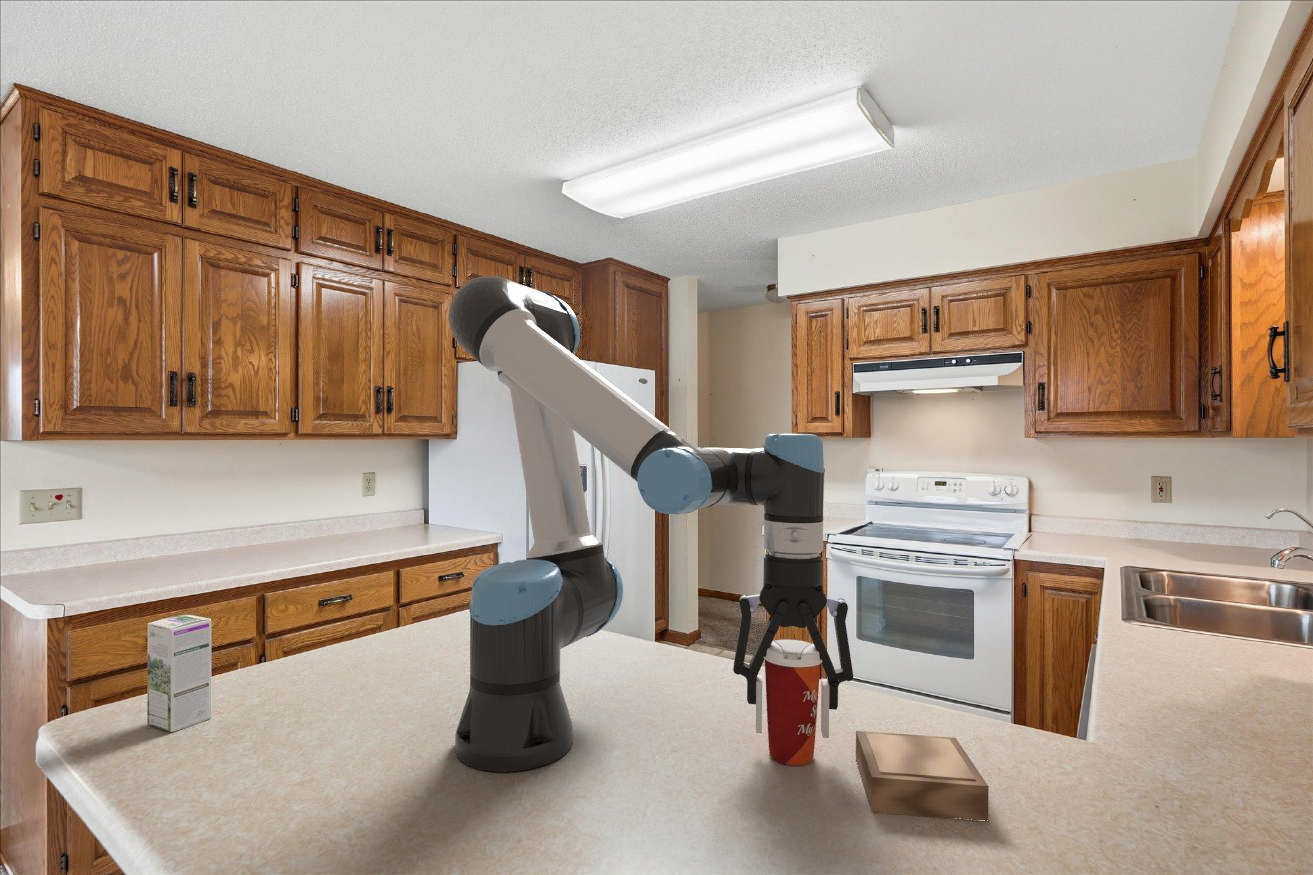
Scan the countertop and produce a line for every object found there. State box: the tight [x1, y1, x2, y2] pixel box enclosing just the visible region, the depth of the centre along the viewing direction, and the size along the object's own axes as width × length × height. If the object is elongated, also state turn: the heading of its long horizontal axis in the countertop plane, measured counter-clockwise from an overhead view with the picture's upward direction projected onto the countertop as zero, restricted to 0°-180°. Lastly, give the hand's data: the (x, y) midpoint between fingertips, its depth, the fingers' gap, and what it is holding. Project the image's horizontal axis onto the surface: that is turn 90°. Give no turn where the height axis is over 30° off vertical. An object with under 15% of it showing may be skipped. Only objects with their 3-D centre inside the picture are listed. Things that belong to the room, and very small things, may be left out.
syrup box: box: [146, 613, 212, 733], centre depth 95 cm, size 6×6×14 cm
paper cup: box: [764, 639, 822, 767], centre depth 87 cm, size 8×8×14 cm
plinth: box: [855, 730, 989, 821], centre depth 79 cm, size 12×12×4 cm
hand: (791, 730), depth 87 cm, fingers closed on paper cup, 8 cm apart
